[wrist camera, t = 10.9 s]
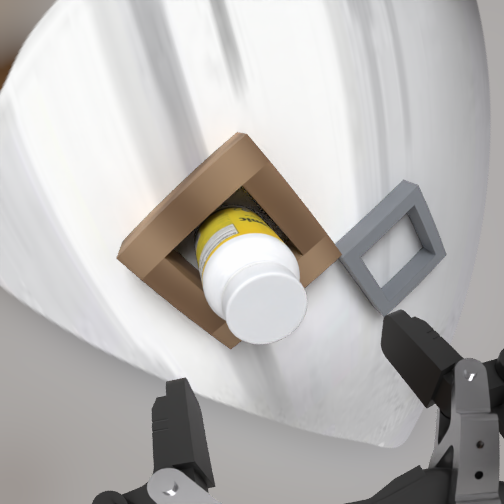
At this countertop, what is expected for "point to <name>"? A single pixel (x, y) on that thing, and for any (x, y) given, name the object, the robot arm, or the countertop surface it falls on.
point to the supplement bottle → (249, 275)
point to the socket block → (199, 208)
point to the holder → (374, 227)
